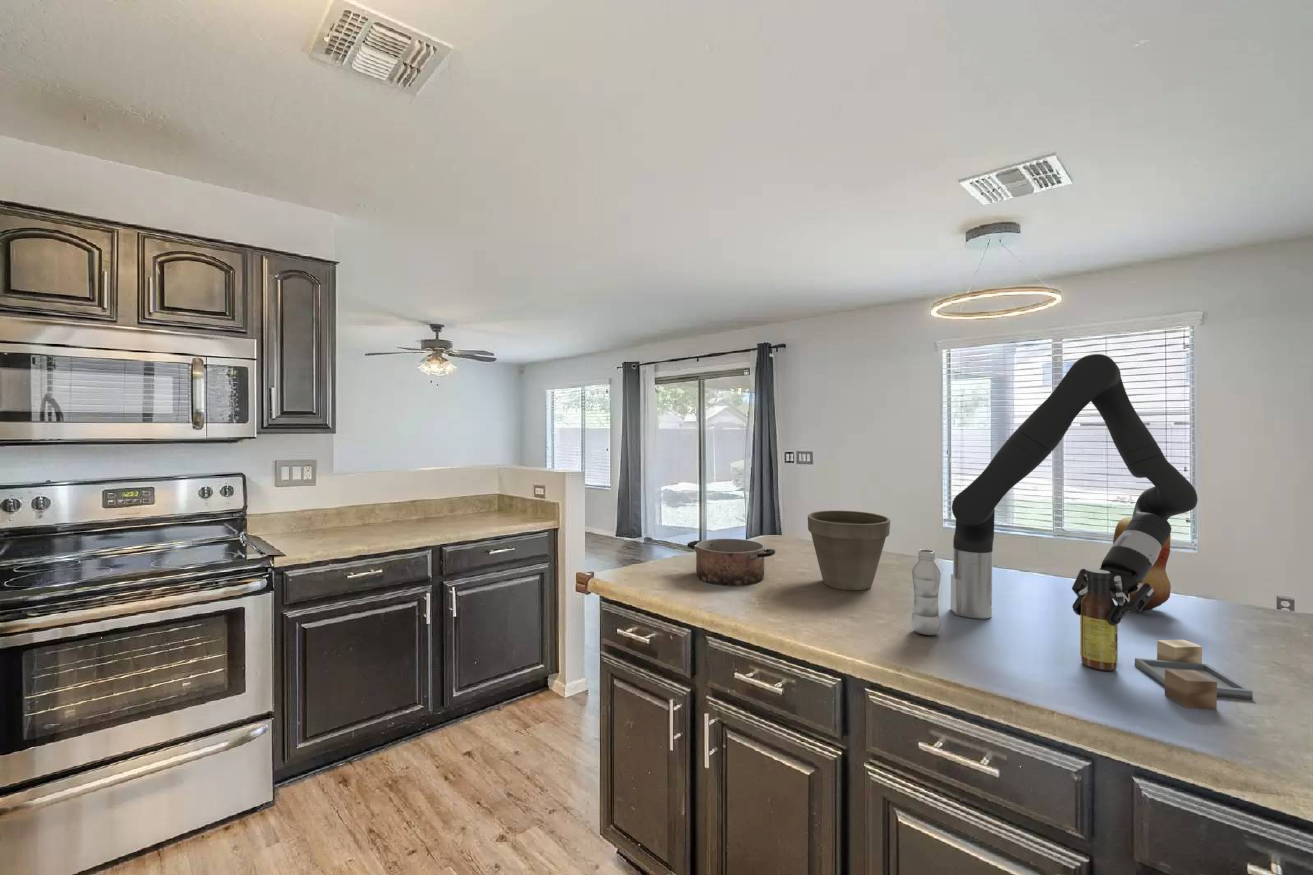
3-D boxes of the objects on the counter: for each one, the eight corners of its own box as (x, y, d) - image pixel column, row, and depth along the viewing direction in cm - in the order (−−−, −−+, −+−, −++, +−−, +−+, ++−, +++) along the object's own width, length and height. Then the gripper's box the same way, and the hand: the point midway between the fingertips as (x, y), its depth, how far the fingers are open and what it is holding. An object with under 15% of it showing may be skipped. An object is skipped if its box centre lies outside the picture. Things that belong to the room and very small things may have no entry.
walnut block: (1185, 708, 105) (1186, 680, 105) (1164, 695, 110) (1165, 669, 110) (1216, 709, 104) (1217, 681, 104) (1193, 696, 109) (1194, 670, 109)
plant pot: (890, 599, 169) (891, 524, 169) (802, 591, 178) (803, 519, 177) (889, 578, 192) (889, 512, 192) (811, 571, 201) (812, 508, 201)
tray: (1171, 691, 111) (1171, 684, 111) (1134, 665, 123) (1134, 658, 123) (1252, 699, 108) (1252, 691, 108) (1206, 671, 120) (1206, 664, 120)
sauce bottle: (1124, 673, 119) (1126, 576, 118) (1089, 671, 120) (1091, 574, 120) (1106, 660, 125) (1108, 568, 125) (1073, 658, 127) (1075, 566, 126)
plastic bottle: (938, 630, 144) (939, 549, 144) (942, 640, 138) (943, 555, 137) (909, 627, 146) (910, 547, 146) (912, 636, 140) (913, 553, 139)
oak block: (1174, 668, 122) (1174, 647, 122) (1156, 661, 126) (1157, 640, 126) (1201, 668, 122) (1202, 646, 122) (1183, 660, 126) (1183, 639, 126)
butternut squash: (1151, 620, 151) (1153, 523, 151) (1095, 605, 164) (1096, 516, 163) (1181, 613, 157) (1183, 520, 156) (1125, 599, 169) (1126, 513, 169)
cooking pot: (673, 578, 193) (673, 546, 193) (704, 564, 212) (704, 535, 212) (760, 592, 177) (760, 557, 177) (784, 576, 196) (785, 544, 196)
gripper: (1088, 538, 131) (1050, 596, 128) (1162, 552, 118) (1122, 617, 114) (1104, 560, 133) (1066, 618, 130) (1178, 575, 120) (1139, 640, 116)
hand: (1093, 617), depth 122 cm, fingers closed on sauce bottle, 6 cm apart
